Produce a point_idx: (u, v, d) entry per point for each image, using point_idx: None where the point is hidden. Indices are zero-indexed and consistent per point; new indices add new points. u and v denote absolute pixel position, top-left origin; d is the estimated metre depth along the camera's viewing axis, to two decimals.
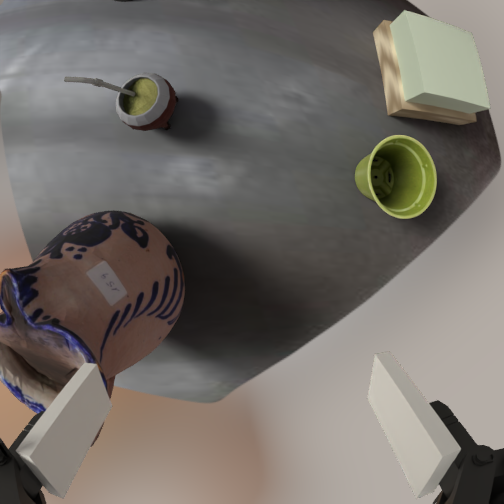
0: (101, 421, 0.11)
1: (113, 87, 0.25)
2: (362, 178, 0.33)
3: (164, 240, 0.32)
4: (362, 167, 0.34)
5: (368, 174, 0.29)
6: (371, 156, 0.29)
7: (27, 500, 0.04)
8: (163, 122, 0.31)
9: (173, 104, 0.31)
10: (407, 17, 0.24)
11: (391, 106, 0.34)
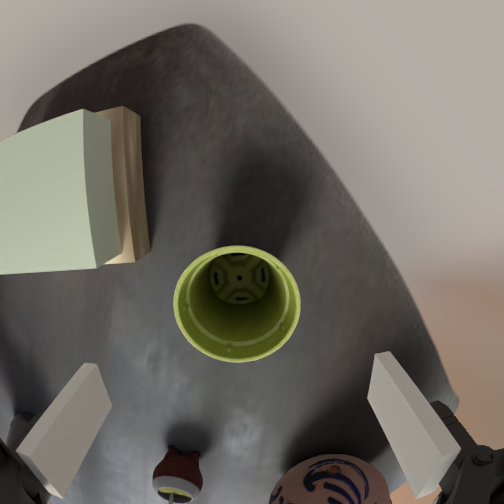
0: (101, 421, 0.11)
1: None
2: (243, 325, 0.27)
3: (299, 485, 0.29)
4: (228, 322, 0.27)
5: (238, 361, 0.23)
6: (213, 357, 0.23)
7: (27, 500, 0.04)
8: (195, 473, 0.31)
9: (178, 468, 0.31)
10: (6, 272, 0.20)
11: None
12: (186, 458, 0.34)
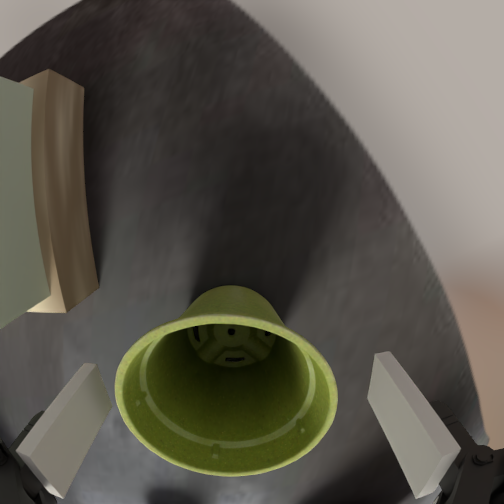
0: (101, 421, 0.11)
1: None
2: (237, 409, 0.16)
3: None
4: (215, 403, 0.16)
5: (230, 475, 0.12)
6: (191, 469, 0.12)
7: (27, 500, 0.04)
8: None
9: None
10: None
11: None
12: None
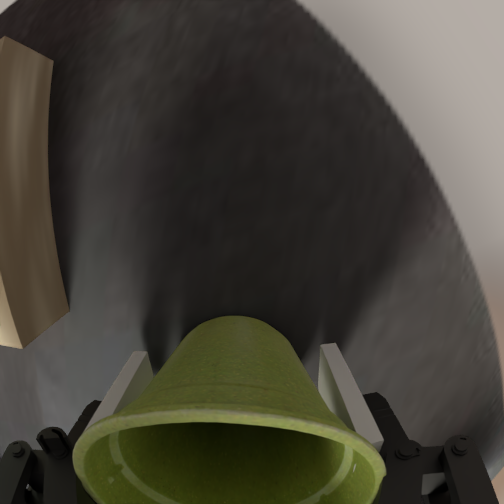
0: None
1: None
2: (243, 470, 0.11)
3: None
4: (214, 462, 0.11)
5: None
6: None
7: (84, 497, 0.05)
8: None
9: None
10: None
11: None
12: None
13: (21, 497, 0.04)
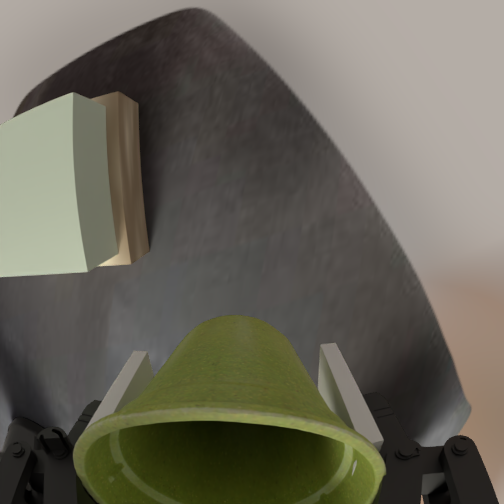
0: None
1: None
2: (243, 469, 0.11)
3: None
4: (215, 461, 0.11)
5: None
6: None
7: (84, 497, 0.05)
8: None
9: None
10: None
11: None
12: None
13: (21, 497, 0.04)
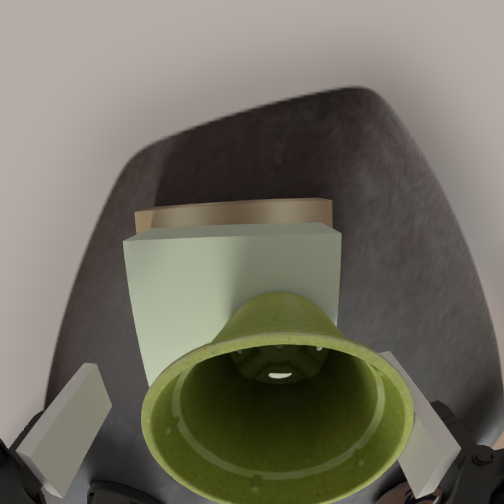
0: (101, 421, 0.11)
1: None
2: (282, 434, 0.13)
3: None
4: (256, 426, 0.14)
5: None
6: (226, 503, 0.09)
7: (27, 500, 0.04)
8: None
9: None
10: None
11: None
12: None
13: None
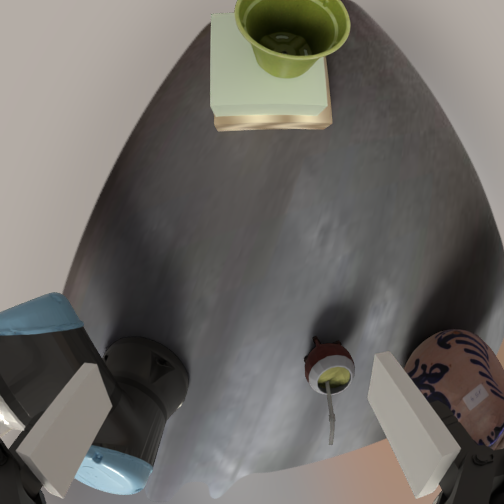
0: (101, 421, 0.11)
1: (331, 403, 0.34)
2: (293, 68, 0.23)
3: (435, 348, 0.36)
4: (278, 67, 0.23)
5: (297, 58, 0.19)
6: (270, 52, 0.19)
7: (27, 500, 0.04)
8: (349, 353, 0.39)
9: (337, 348, 0.38)
10: (222, 104, 0.28)
11: (318, 127, 0.36)
12: None
13: None
